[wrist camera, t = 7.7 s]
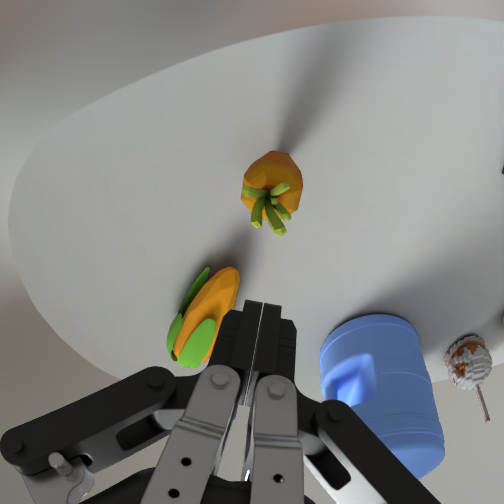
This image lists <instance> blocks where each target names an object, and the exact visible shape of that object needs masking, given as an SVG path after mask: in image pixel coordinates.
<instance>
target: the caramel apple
mask: <svg viewBox="0 0 504 504" xmlns="http://www.w3.org/2000/svg"><path fill="white" fill-rule="evenodd" d="M484 343H485V342H484V340H482V339H481V338H480V337H476V335H475V336H470V337H465V338H464V340H460V341H458V343H456V344H454V346H451V348H450V351H447V352H446V355H445V358H444V362H445V365H446V366H447V367H448V375H449V378H451V379H452V382H454V384H455V386H457V389H459V390H465V391H469V390H473V389H476V392H477V395H478V398H479V401H480V405H481V408H482V411H483V415H484V418H485V422H486V423H487V422H489V421H490V418H489V415H488V411H487V408H486V405H485V402H484V399H483V396H482V393H481V390H480V386H481V384H484V383H485V381H486V379H487V377H488V375H489V373H490V372H491V370H492V368H491V365H492V361H491V360H492V358H491V356H490V354H489V351H488V350H487V349H486V348H485V345H484Z"/></svg>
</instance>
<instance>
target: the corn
mask: <svg viewBox="0 0 504 504" xmlns="http://www.w3.org/2000/svg"><path fill="white" fill-rule="evenodd" d="M209 272H210V267H207V268H206V269H205V270H204V271H203V272H202V273H201V274H200V276H199V277H198V278H197V279H196V281H195V282H194V283H193V285H192V286H191V288H190V289H189V291H188V293H187V295H186V297H185V299H184V301H183V303H182V305H181V308H180V310H179V313H178V315H177V316H176V317H175V319H174V320H173V322H172V323H171V326H170V329H169V332H168V336H167V349H168V352H169V354H170V356H171V358H172V359H173V360H174V361H177V363H179V364H180V365H182V366H184V367H188V368H197V367H198V366H199V364H200V363H203V362H206V361H207V360H208V358H209V357H210V356H211V353H212V350H213V347H214V344H215V340H216V337H217V334H218V331H219V328H220V324H221V321H222V318H223V316H224V315H225V314H226V313H227V312H228V311H229V310H230V309H232V310H234V306H235V301H236V297H237V292H238V288H239V283H240V276H239V273H238V270H236V269H234V268H232V267H231V266H230V267H227V268H224V269H221V270H219V271H218V272H217V273H216V274H215V275H214V276H213V277H212V278H211V279H210V280H209V281H208V282H207V283H205V282H206V280H207V277H208V275H209ZM172 348H174V351H173V350H172Z"/></svg>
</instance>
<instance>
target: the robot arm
mask: <svg viewBox="0 0 504 504" xmlns="http://www.w3.org/2000/svg"><path fill="white" fill-rule="evenodd" d="M262 304H263V303H262V302H257V301H251V300H245V303H244V307H243V312H242V311H237V310H232V309H230V310H229V311H228V312H227V313H226V314H225V315H224V316H223V318H222V321H221V324H220V328H219V331H218V334H217V337H216V340H215V344H214V347H213V350H212V353H211V357H210V360H209V363H208V365H207V367H206V368H205V369H204V370H203V371H202V372H200V373H198V374H196V375H193V376H181V377H174V375H173V374H172V373H171V372H170V371H169V370H168V369H165V368H163V367H158V366H154V367H148V368H146V369H143V370H141V371H139V372H137V373H135V374H133V375H131V376H129V377H127V378H125V379H123V380H121V381H119V382H117V383H114V384H112V385H110V386H109V387H106V388H104V389H102V390H100V391H97V392H95V393H93V394H91V395H89V396H87V397H84V398H82V399H80V400H78V401H76V402H74V403H71V404H69V405H66V406H64V407H62V408H60V409H57V410H55V411H53V412H50V413H48V414H46V415H44V416H41V417H39V418H36V419H34V420H32V421H29V422H27V423H24V424H22V425H19V426H17V427H14V428H12V429H10V430H8V431H6V432H5V433H4V435H3V436H2V438H1V441H0V451H1V454H2V456H3V457H4V459H5V460H6V461H7V462H9V463H10V464H11V465H12V466H13V467H14V468H15V469H16V470H17V471H18V472H19V473H20V474H21V475H22V477H23V480H24V482H25V484H26V486H27V488H28V490H29V492H30V495H31V497H32V498H33V501H34V502H35V504H315V502H314V501H312V500H311V499H310V498H308V497H307V496H305V495H304V464H303V462H304V463H305V465H306V466H307V467H308V468H309V470H310V471H311V472H312V473H313V475H314V476H315V477H316V478H317V480H318V481H319V482H320V483H321V485H322V486H323V487H324V488H325V489H326V491H327V492H328V493H329V494H330V495H331V497H332V498H333V499H334V500H335V501H336V503H337V504H441V503H440V502H439V501H438V500H437V499H436V498H435V497H434V496H433V495H432V494H431V493H430V492H429V491H428V490H427V489H426V488H425V487H424V486H423V485H422V484H421V482H420V481H419V480H418V479H417V478H416V477H415V476H414V475H413V474H412V473H411V472H410V471H409V470H408V469H407V468H406V467H405V466H404V465H403V464H402V463H401V462H400V460H399V459H398V458H397V457H396V456H395V455H394V454H393V453H392V452H391V451H390V450H389V449H388V448H387V447H386V446H385V444H384V443H383V442H382V441H381V440H380V439H379V438H378V437H377V436H376V435H375V434H374V433H373V432H372V430H371V429H370V428H369V427H368V426H367V425H366V424H365V423H364V422H363V421H362V420H361V418H360V417H359V416H358V415H357V414H356V413H355V412H354V411H353V410H352V409H351V407H350V406H349V405H347V404H346V403H345V402H343V401H340V400H336V399H330V400H326V401H323V402H322V403H319V402H317V401H314V400H312V399H310V398H308V397H306V396H304V395H303V394H302V393H301V392H300V391H299V390H298V389H297V387H296V385H295V382H294V374H295V355H296V334H297V330H296V328H295V325H294V323H293V321H292V320H287V319H281V308H282V306H280V305H274V304H268V303H264V307H263V312H262V316H261V310H262ZM260 316H261V321H260ZM259 322H260V326H259ZM258 327H259V331H258ZM257 333H258V336H257ZM256 339H257V342H256ZM255 344H256V347H255ZM254 350H255V353H254ZM253 356H254V359H253ZM252 361H253V364H252ZM251 367H252V370H251ZM250 372H251V375H250ZM249 376H250V381H249ZM248 381H249V386H248ZM247 386H248V392H247V397H246V403H245V406H249V407H250V412H249V417H248V421H247V427H246V437H245V438H246V439H245V449H244V461H243V469H242V474H241V481H235V482H231V481H227V480H224V479H222V478H220V477H217V473H218V469H219V465H220V462H221V458H222V455H223V452H224V449H225V446H226V442H227V439H228V436H229V433H230V430H231V426H232V423H233V420H234V419H235V417H236V413H237V408H238V405H243V404H244V399H245V395H246V390H247ZM169 434H170V435H169ZM167 435H169V438H168V440H167V442H166V445H165V447H164V449H163V452H162V454H161V456H160V458H159V461H158V463H157V465H156V467H153V468H148V469H145V470H141V471H139V472H137V473H135V474H133V475H131V476H129V477H128V478H126V479H124V480H122V481H120V482H119V483H117V484H115V485H113V486H111V487H110V488H108V489H106V490H104V491H102V492H100V493H98V494H96V495H94V496H93V497H90V498H89V499H87V500H85V501H83V502H80V503H79V501H80V499H81V498H82V497H83V496H84V495H85V494H87V493H88V492H89V491H90V490H91V489H92V487H93V485H94V476H93V474H95V473H97V472H99V471H101V470H103V469H105V468H107V467H109V466H111V465H113V464H115V463H117V462H119V461H121V460H123V459H125V458H127V457H129V456H131V455H133V454H135V453H136V452H138V451H140V450H142V449H144V448H146V447H147V446H149V445H151V444H153V443H155V442H157V441H158V440H160V439H162V438H164V437H165V436H167Z"/></svg>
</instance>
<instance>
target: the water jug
mask: <svg viewBox="0 0 504 504" xmlns="http://www.w3.org/2000/svg"><path fill="white" fill-rule="evenodd" d="M320 368H321V391H322V394H323V396H324V398H325V401H326V400H330V399H336V400H340V401H343V402H345V403H346V404H347V405H349V406H350V407H351V409H352V410H353V411H354V412H355V413H356V414H357V415H358V416H359V417H360V418H361V420H362V421H363V422H364V423H365V424H366V425H367V426H368V427H369V428H370V429H371V430H372V432H373V433H374V434H375V435H376V436H377V437H378V438H379V439H380V440H381V441H382V442H383V443H384V444H385V446H386V447H387V448H388V449H389V450H390V451H391V452H392V453H393V454H394V455H395V456H396V457H397V458H398V459H399V460H400V462H401V463H402V464H403V465H404V466H405V467H406V468H407V469H408V470H409V471H410V472H411V473H412V474H413V475H414V476H415V477H416V478H417V479H418V480H419V479H420V478H422V477H423V476H425V475H426V474H428V473H429V472H430V471H432V470H433V469H434V468H436V467H437V466H438V465H439V464H440V462H442V460H443V458H444V456H445V448H444V436H443V431H442V427H441V424H440V422H439V418H438V413H437V409H436V405H435V400H434V396H433V390H432V384H431V380H430V376H429V374H428V371H427V369H426V366H425V362H424V359H423V355H422V352H421V349H420V342H419V339H418V336H417V333H416V331H415V329H414V328H413V327H412V326H411V325H410V324H409V323H408V322H407V321H405V320H403V319H401V318H399V317H396V316H392V315H385V314H374V315H367V316H362V317H359V318H355V319H353V320H350V321H348V322H346V323H344V324H343V325H341V326H339V327H338V328H337V329H335V330H334V331H333V332H332V333H331V334H330V335H329V336H328V337H327V339H326V340H325V342H324V343H323V345H322V348H321V352H320Z"/></svg>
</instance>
